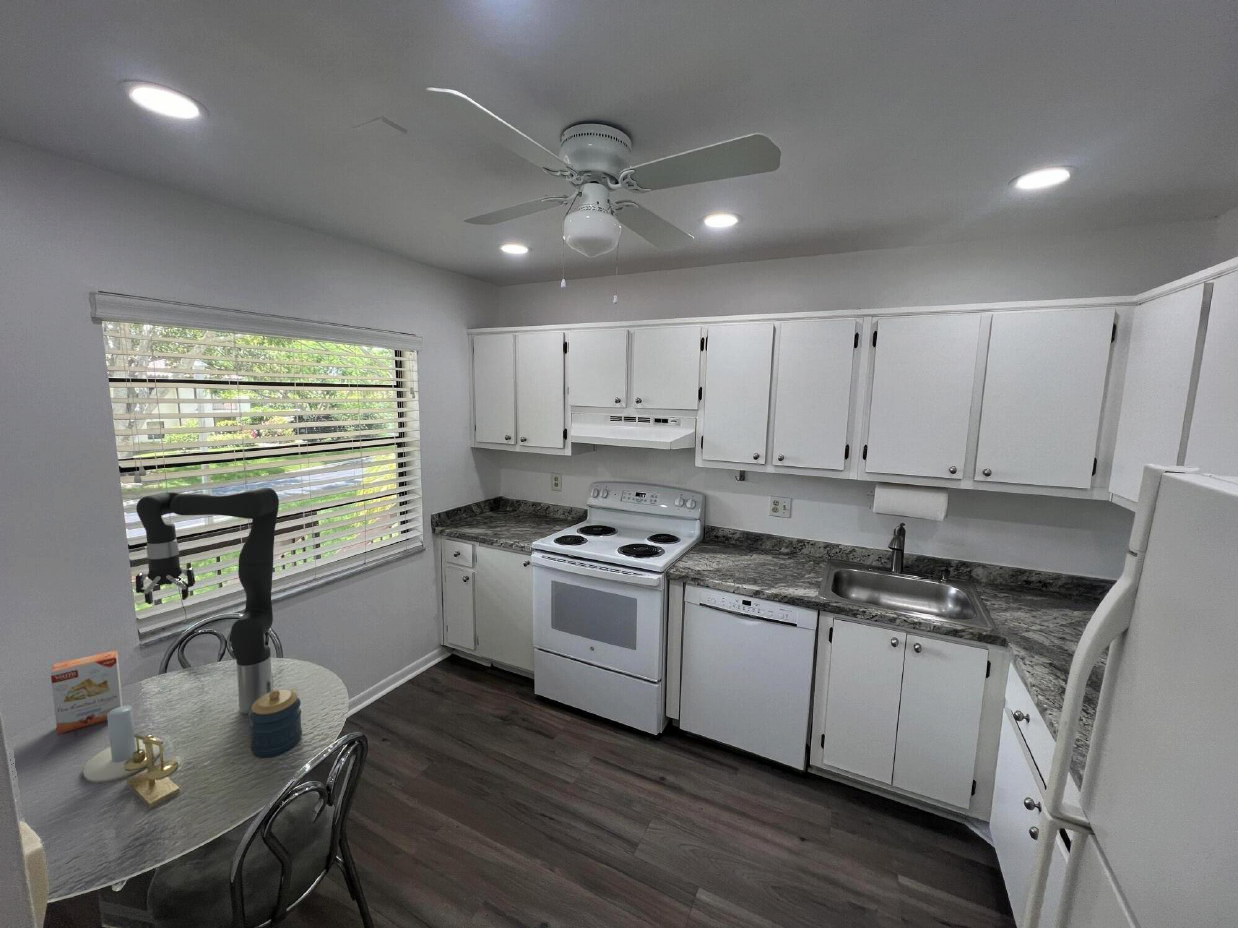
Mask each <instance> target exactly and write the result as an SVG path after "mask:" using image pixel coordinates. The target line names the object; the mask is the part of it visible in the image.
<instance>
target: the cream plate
mask: <svg viewBox="0 0 1238 928" xmlns="http://www.w3.org/2000/svg"><path fill="white" fill-rule="evenodd" d="M154 739H156V740H159V741H162V739H161V738H159V737H156V736H154ZM135 740H136V738H135ZM142 741H143V740H140V739H139V748H140V749H144V750H145V744H143V742H142ZM163 744H164V743H163ZM163 744H162V751H163V750H164V749H163V748H164V745H163ZM152 745H153V753H154V756H155V758H154V762H155V761H156V760H157V759H158V758H160V750H159V746H158V745H155V744H152ZM136 750H137V744H136ZM145 752H146V750H145ZM131 758H132V757H131ZM129 759H130V758H129ZM129 759H127V760H129ZM127 760H125V761H122V762H113V761H112V756H111V747H110V746H109V747H107V748H105V749H104V750H102V751H101V750H100V752H98V753H96V755H94V756H93V757H92V758H90V759H89V760H88V761H87V762H86V763H85V764H84V766H83V771H82V772H83V778H84V779H85V781H87V782H90V783H96V784H98V783H99V784H100V783H108V782H113V781H116V780H119V779H123V778H127V777H130V776H131V775H134V774H135V773H137V772H139V771H141V770H143V769H145V768H147V766H145V767H143V768H141V769H138V770H134V771H126V770H125V769H124V764H125V762H126V761H127Z"/></svg>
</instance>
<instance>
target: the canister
mask: <svg viewBox="0 0 1238 928" xmlns="http://www.w3.org/2000/svg"><path fill="white" fill-rule="evenodd" d="M301 702H302V701H301V699H300V698H299V697H298V694H297V693H296V692H295V691H294V690H289V689H274V690H273V691H271V692H269V693H267V694H265V695H263V696H262V697H260V698H259V699H257V700H256V701H255V702H254V703H253V705H252V710H251V711H250V713H249V714H248V719H249V721H250V722H249V724H248V726H249V727H248V729H249V733H250V735H249V736H250V751H251V753H252V755H253V756H254V757H256V758H260V759H268V758H274V757H277V756H280V755H284V754H286V753H287V752H289V751H290V750H292V749H294V748H295V747H296V746H297V745H298V744H299V743H300V741H301V739H302V735H303V728H302V716H301V715H302V710H301V708H300V706H301Z"/></svg>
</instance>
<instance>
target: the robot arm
mask: <svg viewBox="0 0 1238 928" xmlns="http://www.w3.org/2000/svg"><path fill="white" fill-rule="evenodd" d="M279 506H280V500H279V495H278V494H277V492H276V490H274V489H273V488H271V487H269V486H261V487H258V488H253V489H248V490H245V491H243V492H238V493H233V494H228V495H214V494H210V493H199V492H198V493H197V492H196V493H181V492H180V493H179V492H174V491H172V492H171V491H170V492H160V493H155V494H152V495H147V496H144V497H142V498H141V497H140V499H139V500H138V502H137V503H136V508H135V509H136V514H137V515H138V518H139V520H140V522H141V524H142V527H143V528H144V530H145V535H146V557H147V565H148V566H147V567H148V573H143V572H139V573H138V574H137V575H135V593H137V594H139V593H141V594H144V602H145V603H146V604H147V605H152V604H153V603H154V599H153V597H154V596H153V591H152V589H154V588H155V586H157V585H158V586H165V585H172V584H174V585H176V586H178V587H179V588H180V591H181V601H185V600H187V598H189V596H190V593H189V588H190V587H191V588H192V587H194V585H195V584H196V579H195V573H194V572H195V571H194V569H193V568H194V567H188V568H185V569H182V568H181V563H180V561H181V560H180V548H179V544H178V541H177V531H176V526H175V523H173V522H171V521H164V520H163V518H162V516H165V515H168V514H174V515H177V516H226V517H234V518H240V519H247V520H251V528H250V531H249V534H248V536H247V537H246V539H245V542H244V544H243V546H242V548H241V551H240V552H239V555H238V569H237V570H238V571H237V572H238V579H239V581H240V584H241V587H242V588H243V589H244V592H245V597H246V598H245V599H246V600H245V608H244V612H243V614H242V616H240V617H239V618H238V619H237V620H235V621H234V623H233V625H232V626H231V629H230V641H231V651H232V654H233V658H235V662H236V672H237V673H236V675H237V676H236V677H237V691H238V706H239V712H240V714H244V715H249V713H250V711H251V710H252V705H253V703H254V702H255V701H256V700H257V699H259V698H260V697H262V696H263V695H265V694H267V693H269V692H271V691H273V690H275V687H274V673H273V672H272V656H271V655H272V653H271V647H270V646H268V645H267V644H265V639H264V637H265V636H264V635H265V634H266V633H267V632H268V631H269V630H270V629H271V627H272V625H273V623H274V615H273V603H272V587H273V575H274V574H273V573H274V572H273V571H274V547H275V531H276V524H277V518H278V513H279V508H280V507H279ZM182 574H183V575H184V576H186V578H187V581H185V580H184V578H182V577H181V575H182ZM146 578H148V579H149V580H150V581H152V582H151V583H150V584H149V585H148V586H147V587H144V584H145V583H144V581H145V580H146Z"/></svg>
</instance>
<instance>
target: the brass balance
mask: <svg viewBox="0 0 1238 928" xmlns="http://www.w3.org/2000/svg"><path fill="white" fill-rule="evenodd" d="M154 737H155V736H154V735H152V734H147V735H146V736H145V735H143V734H140V733H135V738H136V744H137V751H135V752H134V753H133V754H132V755H133V757H132V758H130V759H129V760H127V761H126V762H125V764H124V769H125V770H126V771H134V770H138V769H141V768H143V767H145V766H146V767H145V768H147V769H144V768H143V769H144V770H143V771H141V772H138V773H136V774H133V775H132V776H129V777H128V778H126V785H127V786H128V787H129V788H130V790H131V791H132V792H133V793H135V794H136V796H137V797H138V798H139V799H140V800H141V801H142V802H143V803H144V804H145V805H146V806H147V807H148V808H149V809H150V810H151V809H153V808H155V807H156V806H158V805H160V804H161V803H164V802H166V801H167V800H169V799H171V798H173V797H175V796H177V795H178V794H180V787H179V786H178V785H177V784H175V782H174V781H172V779H170V777H169V776H172V775H173V774H174V773H175V772H176V771H177V770H178V769H179V761H177V760H175V759H172V760H171V759H170V760H165V761H164V756H163V755H164V754H163V750H162V744H164V742H163V741H162V740H161V741H159V740H156V739H154ZM139 739H140V740H143V741H142V742H143V744H145V750H146V752H145V750H144V749H140V748H139ZM152 744H155V745H158V746H159V750H160V756H159V759H160V762H159V763H157V764H155V761H154V758H155V756H154V753H153V745H152ZM141 770H142V769H141Z"/></svg>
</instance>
